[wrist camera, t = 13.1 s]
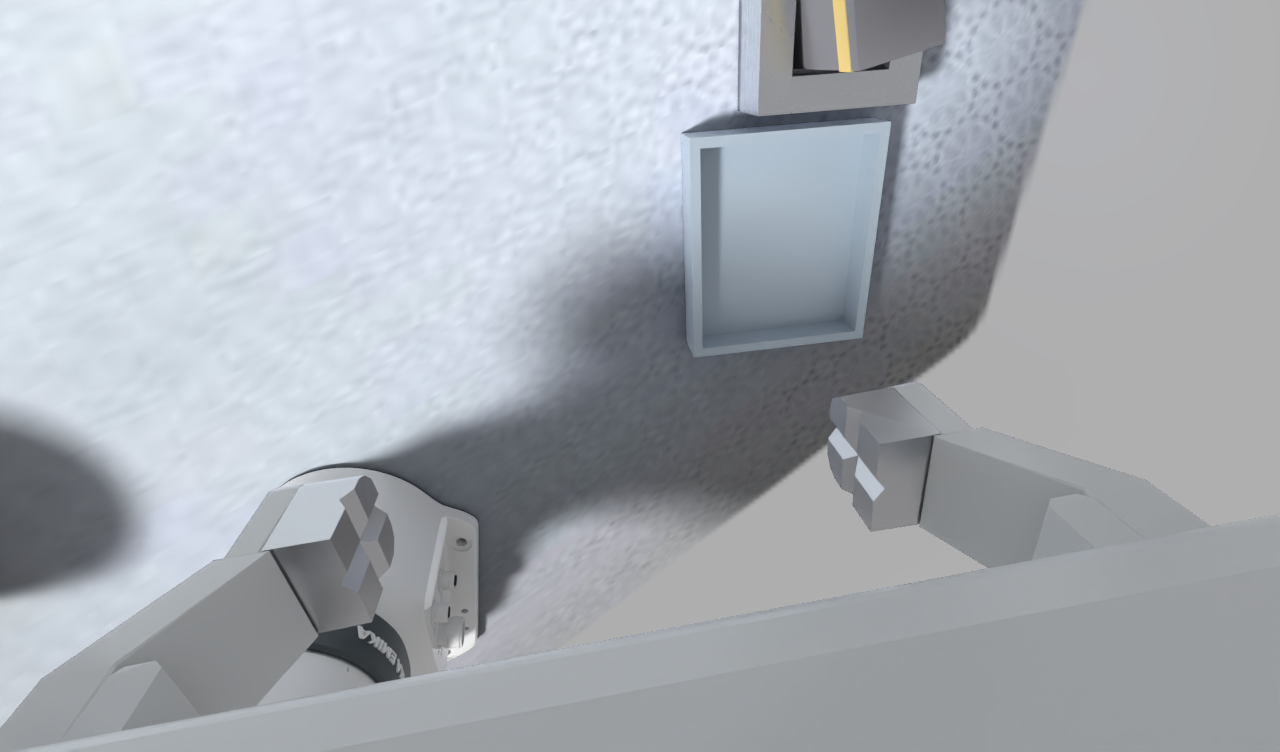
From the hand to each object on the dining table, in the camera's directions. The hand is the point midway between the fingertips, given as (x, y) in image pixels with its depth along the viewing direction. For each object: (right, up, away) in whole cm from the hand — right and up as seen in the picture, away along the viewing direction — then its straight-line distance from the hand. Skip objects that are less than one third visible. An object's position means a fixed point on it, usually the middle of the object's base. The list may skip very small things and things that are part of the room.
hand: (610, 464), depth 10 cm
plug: (+11, +22, +23) cm, 33 cm away
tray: (+9, +11, +29) cm, 32 cm away
